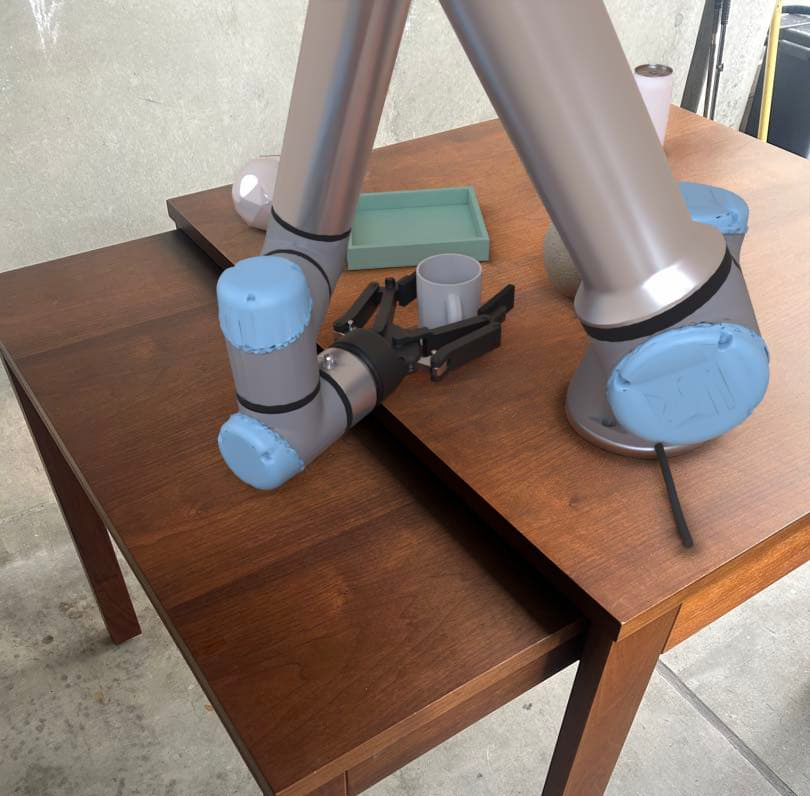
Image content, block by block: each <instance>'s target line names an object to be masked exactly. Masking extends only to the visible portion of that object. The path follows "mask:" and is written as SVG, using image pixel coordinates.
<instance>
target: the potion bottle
mask: <svg viewBox="0 0 810 796" xmlns="http://www.w3.org/2000/svg"><path fill="white" fill-rule="evenodd" d="M280 155H281V154H271V155H259V156H254V157H255V158H254V159H250V160H248V161H247V162H246V163H245V164H244V165H243V166H242V167H241V168H239V169H238V170H237V171H236V172H235V173H234V176H233V181H232V186H231V187H232V188H231V193H230V196H231V199H232V202H233V205H234V209H235V211H236V213H237V214H238V215H239V216H240V218H241V219H243V221H244V222H245V223H246V224H247V226H248V227H251V228H255V229H259V230H262V231H267V226H268V220H269V215H270V211H271V207H272V199H273V193H274V188H275V183H276V177H277V172H278V166H279V161H280Z"/></svg>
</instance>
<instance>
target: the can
mask: <svg viewBox="0 0 810 796" xmlns="http://www.w3.org/2000/svg"><path fill="white" fill-rule="evenodd" d="M633 70H634V72H633V76H634V78H635V81H636V83H637V85H638V88H639V90H640V93H641V95H642V98H643V100H644V103H645V105H646V108H647V110H648V113H649V115H650V117H651V120H652V122H653V125H654V127H655V130H656V132H657V135H658V137H659V140H660V142H661V145H662V147H663V148H664V144H665V138H666V132H667V126H668V120H669V116H670V115H669V114H670V110H671V104H672V98H673V91H674V85H675V84H674V83H675V80H674V76H673V73H674V69H673V68H672V67H671V66H669V65H666V64H661V63H644V64H640V65H637V66H636V67H635V68H634V69H633Z"/></svg>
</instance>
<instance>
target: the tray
mask: <svg viewBox="0 0 810 796" xmlns="http://www.w3.org/2000/svg"><path fill="white" fill-rule="evenodd" d="M490 242H491V240H490V236H489V233H488V230H487V226H486V222H485V220H484V217H483V213H482V210H481V207H480V204H479V201H478V198H477V195H476V191H475V187H474V185H470V186H453V187H440V188H439V187H438V188H424V189H423V188H422V189H407V190H393V191H391V190H390V191H378V192H364V193H362V192H361V195H360V198H359V202H358V206H357V210H356V214H355V217H354V221H353V225H352V229H351V235H350V239H349V245H348V256H347V260H346V262H347V270H348V271H357V270H371V269H372V270H374V269H387V268H400V267H402V268H403V267H414V266H415V267H417V266H418V264H419V263H420V262H421V261H423V260H424V259H426V258H428V257H431V256H435V255H439V254H462V255H466V256H469V257H471V258H474V259H475V260H477V261H478V262H487V261H490Z"/></svg>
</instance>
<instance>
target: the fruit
mask: <svg viewBox="0 0 810 796" xmlns="http://www.w3.org/2000/svg"><path fill="white" fill-rule="evenodd" d="M542 261H543V265H544V269H545V272H546V275H547V277H548V279H549V281H550V283H551V284H552V286H554V288H555V289H556V290H557V291H558V292H560V293H561V294H562V295H564V296H566V297H568V298H572V299H575V296H576V294H577V291H578V289H579V286H580V284H581V281H582V279H581V277H580V275H579V273H578V271H577V269H576V267H575V265H574V263H573V262H572V260H571V258H570V256H569V254H568V252H567V250H566V248H565V246H564V244H563V242H562V240H561V238H560V236H559V234H558V232H557V230H556V228H555V226H554V225H553V223H552V221H551V220H550V223H549V225H548V227H547V229H546V232H545V235H544V239H543V245H542Z"/></svg>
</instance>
